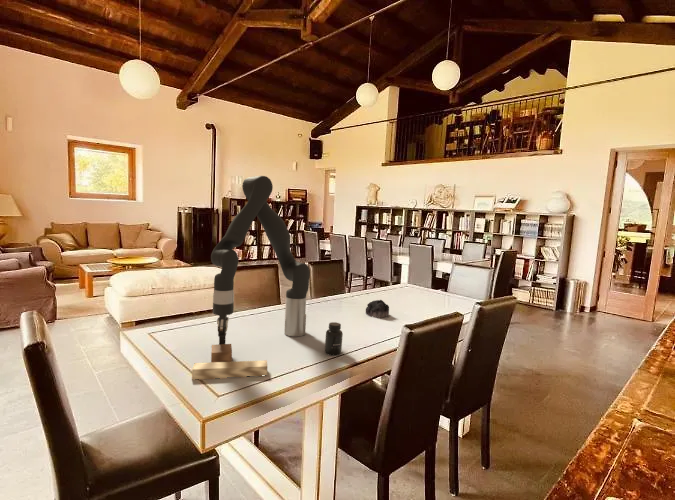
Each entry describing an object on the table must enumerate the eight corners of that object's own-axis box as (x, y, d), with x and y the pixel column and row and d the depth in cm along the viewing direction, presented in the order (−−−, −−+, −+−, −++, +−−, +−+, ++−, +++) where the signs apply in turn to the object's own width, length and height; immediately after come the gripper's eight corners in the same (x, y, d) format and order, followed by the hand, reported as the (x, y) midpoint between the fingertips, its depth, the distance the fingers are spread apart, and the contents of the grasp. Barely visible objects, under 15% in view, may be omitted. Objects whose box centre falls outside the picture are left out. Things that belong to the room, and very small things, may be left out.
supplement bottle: (335, 357, 143) (337, 327, 142) (321, 353, 147) (322, 324, 146) (344, 352, 149) (346, 323, 148) (330, 348, 153) (332, 320, 152)
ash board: (266, 369, 129) (266, 360, 129) (267, 376, 124) (267, 366, 124) (194, 373, 123) (194, 363, 123) (191, 379, 119) (192, 369, 118)
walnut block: (231, 356, 139) (231, 343, 139) (231, 365, 132) (231, 351, 131) (211, 357, 137) (211, 344, 137) (211, 366, 130) (211, 352, 129)
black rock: (367, 311, 216) (367, 295, 215) (390, 312, 213) (390, 296, 211) (363, 319, 204) (363, 302, 202) (388, 320, 200) (387, 302, 199)
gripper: (232, 305, 132) (231, 351, 134) (234, 297, 145) (233, 339, 147) (210, 305, 131) (209, 352, 133) (214, 296, 144) (213, 339, 145)
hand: (222, 345), depth 140 cm, fingers closed
